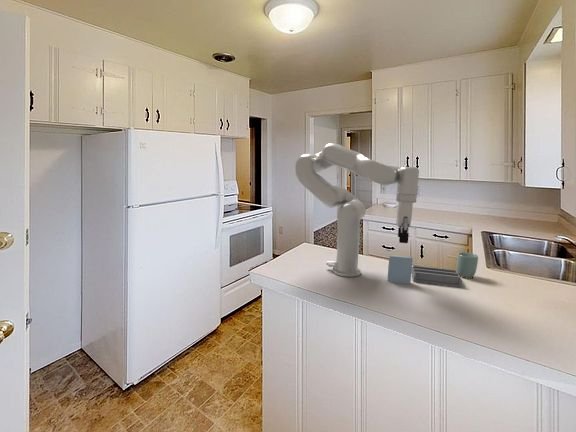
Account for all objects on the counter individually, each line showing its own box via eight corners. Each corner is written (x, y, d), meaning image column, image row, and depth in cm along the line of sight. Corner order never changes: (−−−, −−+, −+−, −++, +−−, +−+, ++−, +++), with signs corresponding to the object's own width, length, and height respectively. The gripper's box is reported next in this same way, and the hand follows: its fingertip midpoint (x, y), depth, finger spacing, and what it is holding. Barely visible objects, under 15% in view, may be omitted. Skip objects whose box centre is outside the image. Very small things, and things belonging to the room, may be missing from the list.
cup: (457, 272, 144) (460, 251, 142) (476, 276, 139) (479, 254, 137) (453, 276, 138) (456, 254, 136) (473, 281, 133) (476, 258, 132)
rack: (413, 281, 131) (414, 272, 130) (411, 273, 141) (411, 264, 140) (461, 287, 126) (462, 278, 125) (455, 278, 136) (456, 269, 136)
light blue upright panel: (387, 281, 131) (389, 256, 129) (387, 279, 133) (389, 254, 131) (410, 284, 128) (412, 258, 126) (409, 282, 130) (412, 257, 128)
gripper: (395, 195, 134) (392, 234, 137) (397, 200, 117) (393, 244, 120) (414, 196, 132) (410, 236, 135) (419, 201, 115) (414, 246, 118)
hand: (402, 239), depth 127 cm, fingers open, 9 cm apart
